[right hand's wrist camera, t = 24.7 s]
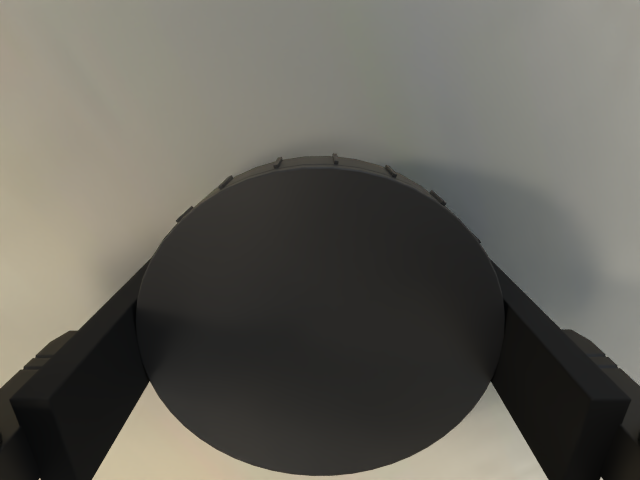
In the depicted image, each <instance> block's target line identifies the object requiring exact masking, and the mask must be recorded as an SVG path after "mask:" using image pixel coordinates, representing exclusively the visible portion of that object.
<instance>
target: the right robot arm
mask: <svg viewBox="0 0 640 480" xmlns="http://www.w3.org/2000/svg"><path fill="white" fill-rule="evenodd" d="M150 260H151V259H150ZM150 260H149V261H148V262H147V263H146V264H145V265H144V266H143V267H142V268H141V269H140V270H139V271H138V272H137V273H136V274H135V275H134V276H133V277H132V278H131V279H130V280H129V281H128V282H127V283H126V284H125V285H124V286H123V287H122V288H121V289H120V290H119V291H118V292H117V293H116V294H115V295H114V296H113V297H112V298H111V299H110V300H109V301H108V302H107V303H106V304H105V305H104V306H103V307H102V308H101V309H100V310H99V311H98V312H97V313H96V314H94V315H93V316H92V317H91V318H90V319H89V320H88V321H87V322H86V323H85V324H84V325H83V326H82V327H81V328H80V329H79V330H78V331H68V332H67V333H65V334H63V335H62V336H60V337H58V338H56V339H55V340H53V341H51V342H50V343H49V344H48V345H47V346H45V347H44V348H43V349H42V350H41V351H40V352H39V353H38V354H37V355H36V358H33V359H32V360H30V361H29V362H28V363H27V364H26V365H25V366H24V369H23V370H20V371H19V372H18V373H17V374H15V375H14V376H13V377H12V378H11V379H10V380H9V381H8V382H7V383H6V384H5V385H4V386H3V387H1V388H0V480H39V478H40V479H41V480H92V478H93V477H94V475H95V473H96V472H97V470H98V468H99V466H100V465H101V463H102V461H103V460H104V458H105V456H106V455H107V453H108V451H109V449H110V448H111V446H112V444H113V443H114V441H115V439H116V437H117V436H118V434H119V432H120V431H121V429H122V427H123V426H124V424H125V422H126V420H127V419H128V417H129V415H130V414H131V412H132V410H133V408H134V407H135V405H136V403H137V402H138V400H139V398H140V397H141V395H142V393H143V391H144V390H145V388H146V386H147V385H148V383H149V381H150V380H149V378H148V376H147V373H146V371H145V368H144V366H143V363H142V360H141V355H140V351H139V346H138V342H137V334H136V309H137V299H138V295H139V291H140V287H141V283H142V279H143V277H144V274H145V272H146V270H147V267H148V265H149V262H150ZM489 260H490V259H489ZM490 262H491V264H492V266H493V268H494V270H495V272H496V274H497V278H498V281H499V285H500V288H501V292H502V295H503V303H504V312H505V330H504V339H503V344H502V349H501V353H500V358H499V362H498V364H497V367H496V370H495V373H494V376H493V377H492V379H491V382H492V384H493V386H494V387H495V389H496V391H497V393H498V394H499V396H500V398H501V399H502V401H503V403H504V404H505V406H506V408H507V410H508V411H509V413H510V415H511V416H512V418H513V420H514V422H515V423H516V425H517V427H518V428H519V430H520V432H521V433H522V435H523V437H524V439H525V440H526V442H527V444H528V445H529V447H530V449H531V450H532V452H533V454H534V456H535V457H536V459H537V461H538V462H539V464H540V466H541V468H542V469H543V471H544V473H545V474H546V476H547V478H548V479H549V480H600V477H602V478H603V480H640V386H639V385H638V384H637V383H636V382H635V381H633V380H632V379H631V378H630V377H629V376H628V375H627V374H626V373H625V372H624V371H623V370H622V369H620V368H617V365H616V364H615V363H614V362H613V361H612V360H611V359H610V358H609V357H605V354H604V353H603V352H602V351H601V350H600V349H599V348H598V347H597V346H596V345H595V344H593V343H592V342H591V341H590V340H588V339H586V338H585V337H583V336H581V335H580V334H578V333H576V332H574V331H573V330H561V329H560V328H559V327H558V326H557V325H556V324H555V323H554V322H553V321H552V320H551V319H550V318H549V317H548V316H547V315H546V314H545V313H544V312H543V311H542V310H541V309H540V308H539V307H538V306H537V305H536V304H535V303H534V302H533V301H532V300H531V299H530V298H529V297H528V296H527V295H526V294H525V293H524V292H523V291H522V290H521V289H520V288H519V287H518V286H517V285H516V284H515V283H514V282H513V281H512V280H511V279H510V278H509V277H508V276H507V275H506V274H505V273H504V272H503V271H502V270H501V269H500V268H499V267H498V266H497V265H496V264H494V263H493V262H492V261H491V260H490Z"/></svg>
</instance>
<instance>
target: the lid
mask: <svg viewBox="0 0 640 480" xmlns="http://www.w3.org/2000/svg"><path fill="white" fill-rule="evenodd" d="M445 205H446V202H444V201H443V200H442V199H441V198H440V197H439V196H438V195H437V194H435V193H434V192H433V191H432V190H431V191H430V193H429V192H428V191H426V190H425V189H424V188H423V187H421V186H420V185H418V184H416V183H415V182H413V181H411V180H410V179H408V178H406V177H404V176H403V175H401V174H399V173H396V172H394V171H393V169H392V168H391V167H390V166H388V165H386V166H385V168H384V167H382V166H379V165H376V164H372V163H368V162H364V161H360V160H356V159H349V158H341V157H337V154H333V156H310V157H299V158H292V159H285V160H282V157H279V158H278V159H277V160H276V162H273V163H269V164H266V165H262V166H259V167H256V168H254V169H251V170H249V171H247V172H245V173H242V174H240V175H238V176H236V177H234V178H233V177H232V176H230V177H228V178H227V179H226V180H225V181H224V182H223V183H222V184H221V185H220V186H219V187H218V188H216V189H215V190H214V191H213V192H211V193H210V194H209V195H208V196H207V197H205V198H204V199H203V200H202V201H201V202H200V203H198V204H197V205H196V206H195V207H192V206H191V207H190V208H189V209H188V210H187V211H186V212H185V213H184V214H182V215H181V216H180V217H179V218H178V219H177V220H176V222H177V224H176V226H175V227H174V228H173V229H172V230H171V231H170V232H169V234H168V235H167V236H166V237H165V238H164V239H163V241H162V242H161V244H160V246H159V247H158V249H157V250H156V252H155V254H154V255H153V257H152V258H151V260H150V262H149V265H148V267H147V270H146V272H145V274H144V277H143V279H142V283H141V287H140V291H139V295H138V299H137V309H136V334H137V342H138V346H139V351H140V355H141V360H142V363H143V366H144V368H145V371H146V373H147V376H148V378H149V380H150V382H151V384H152V386H153V387H154V389H155V391H156V393H157V394H158V396H159V398H160V399H161V400H162V401H163V403H164V404H165V405H166V407H167V408H168V409H169V411H170V412H171V413H172V414H173V415H174V416H175V417H176V418H177V419H178V420H179V421H180V422H181V423H182V424H183V425H184V426H185V427H186V428H187V429H189V430H190V431H191V432H192V433H193V434H195V435H196V436H197V437H198V438H200V439H201V440H203V441H204V442H206V443H207V444H209V445H211V446H212V447H214V448H215V449H217V450H219V451H221V452H223V453H225V454H227V455H229V456H231V457H233V458H235V459H238V460H240V461H243V462H246V463H248V464H251V465H254V466H257V467H261V468H265V469H268V470H272V471H277V472H283V473H289V474H297V475H309V476H334V475H343V474H353V473H358V472H363V471H368V470H373V469H376V468H380V467H383V466H387V465H390V464H393V463H395V462H398V461H400V460H403V459H405V458H408V457H410V456H412V455H414V454H416V453H418V452H420V451H421V450H423V449H425V448H427V447H429V446H430V445H432V444H433V443H435V442H436V441H438V440H439V439H441V438H442V437H444V436H445V435H446V434H447V433H449V432H450V431H451V430H452V429H453V428H454V427H456V426H457V425H458V424H459V423H460V422H461V421H462V420H463V419H464V418H465V417H466V416H467V415H468V413H469V412H470V411H471V410H472V409H473V408H474V406H475V405H476V404H477V402H478V401H479V400H480V398H481V397H482V395H483V394H484V392H485V391H486V389H487V387H488V385H489V383H490V381H491V379H492V377H493V376H494V373H495V370H496V367H497V364H498V362H499V358H500V353H501V349H502V344H503V339H504V330H505V312H504V303H503V295H502V292H501V288H500V285H499V281H498V278H497V274H496V272H495V270H494V268H493V266H492V264H491V262H490V260H489V257H488V255H487V254H486V252H485V251H484V249H483V248H482V246H481V245H480V243H481V242H480V240H479V239H478V238H477V237H476V236H475V235H474V234H473V233H471V231H470V230H469V229H468V228H467V227H466V226H465V225H464V224H463V223H462V222H461V221H460V220H459V219H458V218H457V217H456V216H455V215H454V214H453V213H452V212H451V211H450V210H449V209H448V208H447V207H446V206H445Z"/></svg>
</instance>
